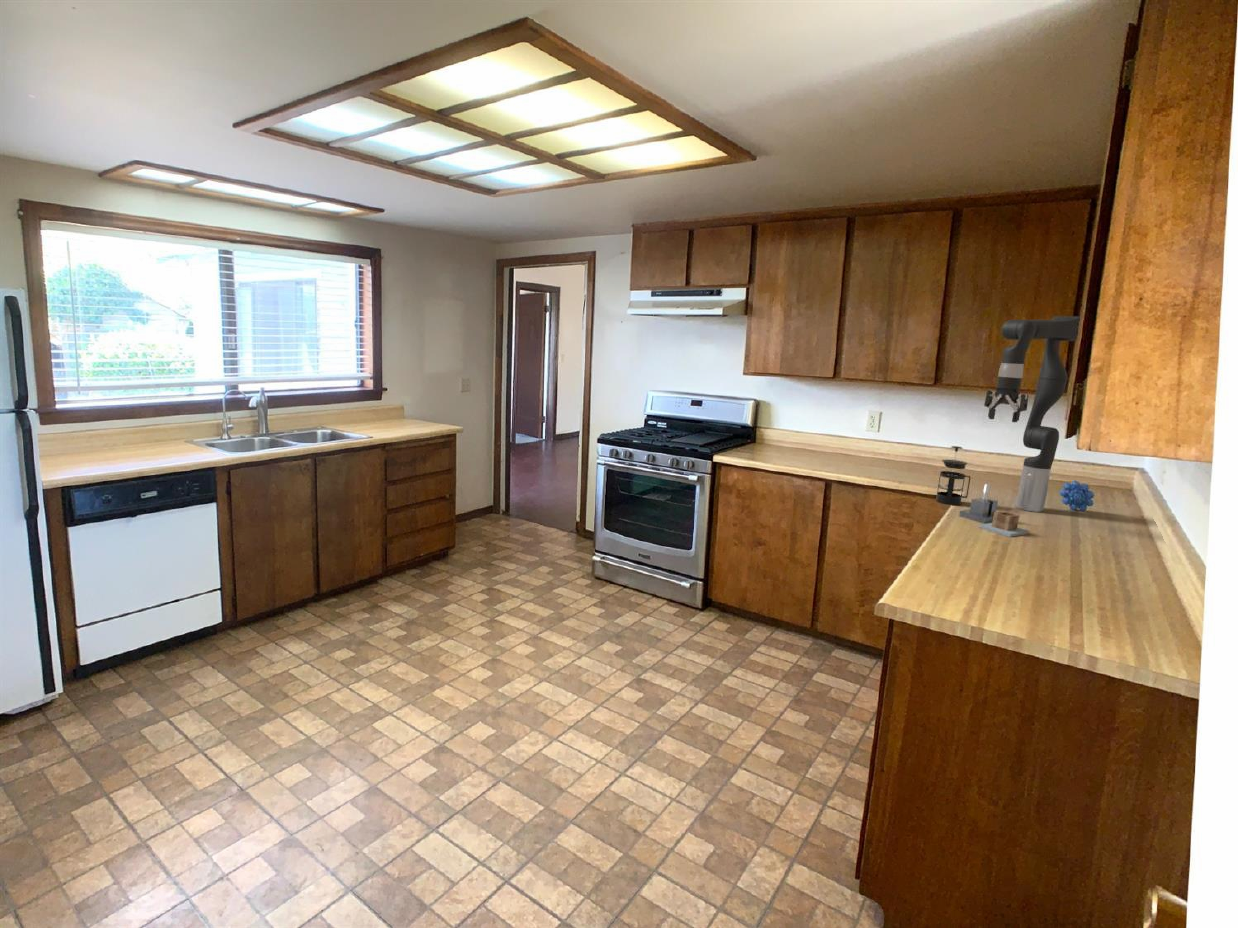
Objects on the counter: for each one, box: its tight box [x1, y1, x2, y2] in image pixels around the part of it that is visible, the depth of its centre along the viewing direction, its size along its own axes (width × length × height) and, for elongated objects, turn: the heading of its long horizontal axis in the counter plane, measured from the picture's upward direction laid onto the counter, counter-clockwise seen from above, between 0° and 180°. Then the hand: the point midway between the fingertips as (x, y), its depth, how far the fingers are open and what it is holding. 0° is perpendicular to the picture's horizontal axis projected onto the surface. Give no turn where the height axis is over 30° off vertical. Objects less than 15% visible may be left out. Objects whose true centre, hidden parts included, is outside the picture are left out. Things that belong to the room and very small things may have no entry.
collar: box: [992, 510, 1020, 531], centre depth 221 cm, size 6×6×5 cm
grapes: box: [1059, 480, 1095, 512], centre depth 254 cm, size 12×7×12 cm, turn 61°
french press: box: [934, 445, 971, 506], centre depth 256 cm, size 12×9×23 cm
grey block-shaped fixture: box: [958, 483, 999, 524], centre depth 235 cm, size 12×10×13 cm
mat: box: [978, 523, 1030, 538], centre depth 222 cm, size 11×11×1 cm
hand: (1002, 420), depth 234 cm, fingers open, 8 cm apart
